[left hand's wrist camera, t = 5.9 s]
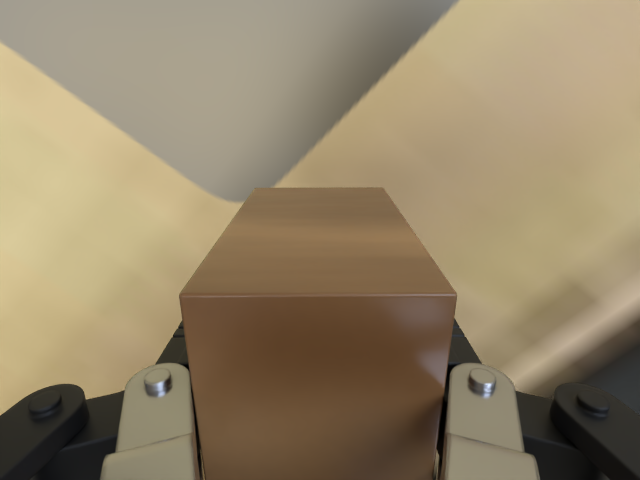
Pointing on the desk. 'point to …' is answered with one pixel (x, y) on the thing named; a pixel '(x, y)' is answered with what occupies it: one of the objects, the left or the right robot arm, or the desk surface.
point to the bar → (318, 341)
